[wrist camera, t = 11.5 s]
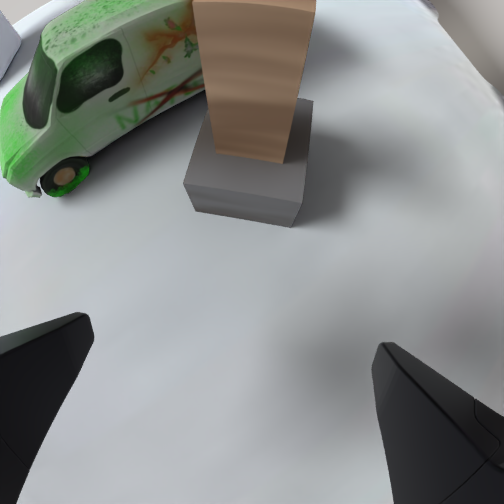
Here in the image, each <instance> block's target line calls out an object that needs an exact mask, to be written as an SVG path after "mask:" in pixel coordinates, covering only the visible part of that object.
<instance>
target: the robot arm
mask: <svg viewBox="0 0 504 504" xmlns="http://www.w3.org/2000/svg"><path fill="white" fill-rule="evenodd" d="M93 342H94V332H93V329H92V325H91V321H90V317H89V316H88V315H87V314H85V313H81V312H75V313H72V314H69V315H66V316H63V317H60V318H57V319H54V320H51V321H48V322H45V323H42V324H38V325H35V326H32V327H29V328H26V329H23V330H20V331H17V332H14V333H11V334H8V335H5V336H1V337H0V504H16V503H17V500H18V498H19V495H20V493H21V490H22V488H23V485H24V483H25V480H26V478H27V476H28V473H29V471H30V468H31V466H32V464H33V462H34V459H35V457H36V455H37V453H38V451H39V449H40V447H41V445H42V442H43V440H44V438H45V436H46V434H47V432H48V430H49V428H50V426H51V424H52V422H53V420H54V419H55V417H56V415H57V413H58V411H59V409H60V407H61V405H62V403H63V402H64V400H65V398H66V396H67V394H68V393H69V391H70V389H71V387H72V385H73V384H74V382H75V380H76V378H77V376H78V374H79V372H80V370H81V368H82V366H83V363H84V361H85V359H86V357H87V355H88V353H89V350H90V348H91V346H92V344H93ZM372 378H373V385H374V394H375V402H376V411H377V417H378V421H379V426H380V430H381V435H382V440H383V445H384V449H385V455H386V460H387V465H388V470H389V476H390V482H391V488H392V494H393V501H394V504H504V417H503V416H502V415H500V414H498V413H496V412H495V411H493V410H492V409H490V408H489V407H487V406H486V405H484V404H483V403H481V402H480V401H479V400H477V399H474V397H473V396H471V395H470V394H468V393H467V392H465V391H464V390H462V389H461V388H460V387H458V386H457V385H455V384H454V383H452V382H451V381H449V380H448V379H446V378H445V377H443V376H442V375H441V374H439V373H438V372H436V371H435V370H433V369H432V368H430V367H429V366H427V365H426V364H424V363H423V362H422V361H420V360H419V359H417V358H416V357H414V356H413V355H411V354H410V353H408V352H407V351H405V350H404V349H402V348H401V347H400V346H398V345H397V344H395V343H393V342H382V343H380V344H379V346H378V348H377V351H376V354H375V358H374V361H373V364H372Z"/></svg>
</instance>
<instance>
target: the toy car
mask: <svg viewBox="0 0 504 504" xmlns="http://www.w3.org/2000/svg"><path fill="white" fill-rule="evenodd" d="M193 1H194V0H85V1H83V2H81V3H80V4H78V5H77V6H75V7H73V8H71V9H70V10H68V11H66V12H65V13H63V14H61V15H60V16H58V17H57V18H55V19H53V20H52V21H51V22H49V23H48V24H47V25H46V26H45V28H44V30H43V32H42V34H41V37H40V42H39V44H38V47H37V50H36V52H35V55H34V58H33V61H32V64H31V67H30V70H29V72H28V73H27V74H26V75H25V76H24V77H23V78H22V79H21V80H20V81H19V82H18V83H17V84H16V85H15V86H14V87H13V89H12V90H11V91H10V92H9V93H8V94H7V95H6V96H5V98H4V99H3V103H2V106H1V110H0V165H1V170H2V175H3V178H6V179H7V181H8V182H9V184H11V185H13V186H14V187H16V188H19V189H21V190H23V191H25V192H26V194H27V196H28V197H38V198H40V196H41V195H42V192H41V189H40V187H38V186H37V182H38V180H39V178H40V184H41V188H42V189H43V190H44V192H45V193H46V194H47V195H50V196H52V197H60V196H62V195H64V194H67V193H69V192H71V191H72V190H73V189H75V188H76V186H77V185H78V184H80V183H81V182H82V181H83V180H84V179H85V178H86V177H87V176H88V174H89V163H88V161H87V159H86V157H90V156H93V155H94V154H96V153H97V152H99V151H100V150H102V149H103V148H104V147H106V146H107V145H109V144H110V143H112V142H113V141H115V140H116V139H118V138H119V137H121V136H123V135H124V134H126V133H127V132H129V131H130V130H132V129H134V128H135V127H137V126H139V125H140V124H142V123H144V122H145V121H147V120H149V119H151V118H152V117H154V116H156V115H158V114H159V113H161V112H163V111H165V110H167V109H169V108H170V107H172V106H174V105H176V104H178V103H180V102H182V101H184V100H186V99H188V98H190V97H192V96H193V95H195V94H197V93H199V92H201V91H203V90H205V84H204V78H203V72H202V65H201V59H200V52H199V46H198V39H197V32H196V26H195V19H194V12H193V5H192V2H193Z"/></svg>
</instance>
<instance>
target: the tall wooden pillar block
mask: <svg viewBox="0 0 504 504" xmlns="http://www.w3.org/2000/svg"><path fill="white" fill-rule="evenodd" d="M192 5H193V12H194V19H195V26H196V32H197V39H198V46H199V52H200V59H201V65H202V72H203V78H204V84H205V90H206V97H207V103H208V109H207V112H206V115H205V118H204V121H203V123H202V126H201V129H200V132H199V135H198V138H197V141H196V144H195V147H194V150H193V153H192V156H191V159H190V163H189V166H188V169H187V172H186V175H185V179H184V182H183V184H184V187H185V189H186V191H187V193H188V195H189V198H190V200H191V202H192V204H193V207H194V209H195V211H197V212H203V213H209V214H215V215H221V216H227V217H233V218H239V219H244V220H250V221H256V222H261V223H267V224H272V225H278V226H283V227H289V228H291V226H292V224H293V222H294V220H295V218H296V216H297V213H298V211H299V209H300V207H301V205H302V201H303V193H304V185H305V177H306V169H307V160H308V151H309V141H310V132H311V122H312V111H313V101H311V100H306V99H301V98H297V97H298V92H299V88H300V83H301V78H302V74H303V69H304V64H305V60H306V55H307V50H308V45H309V41H310V36H311V31H312V26H313V22H314V17H315V10H316V0H194V1H193V2H192Z"/></svg>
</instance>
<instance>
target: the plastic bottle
mask: <svg viewBox="0 0 504 504" xmlns="http://www.w3.org/2000/svg"><path fill="white" fill-rule="evenodd" d="M20 45H21V37H20V36H19V34H18V33H17V32H16V30H15V29H14V28H13V26H12V25H11V24H10V23H9V21H8V20H7V19H6V17H5V16H4V15H3V13H2V12H1V11H0V81H1V79H2V77H3V76H4V74H5V72H6V70H7V68H8V66H9V65H10V63H11V61H12V59H13V57H14V56H15V54H16V52H17V51H18V49H19V47H20Z"/></svg>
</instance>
